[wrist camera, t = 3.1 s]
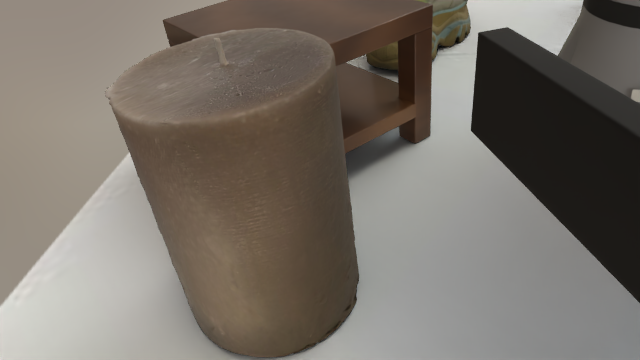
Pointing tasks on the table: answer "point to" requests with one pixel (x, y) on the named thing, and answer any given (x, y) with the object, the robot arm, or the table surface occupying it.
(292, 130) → the pillar candle
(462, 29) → the sneaker
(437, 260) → the table surface
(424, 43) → the shelf rack
